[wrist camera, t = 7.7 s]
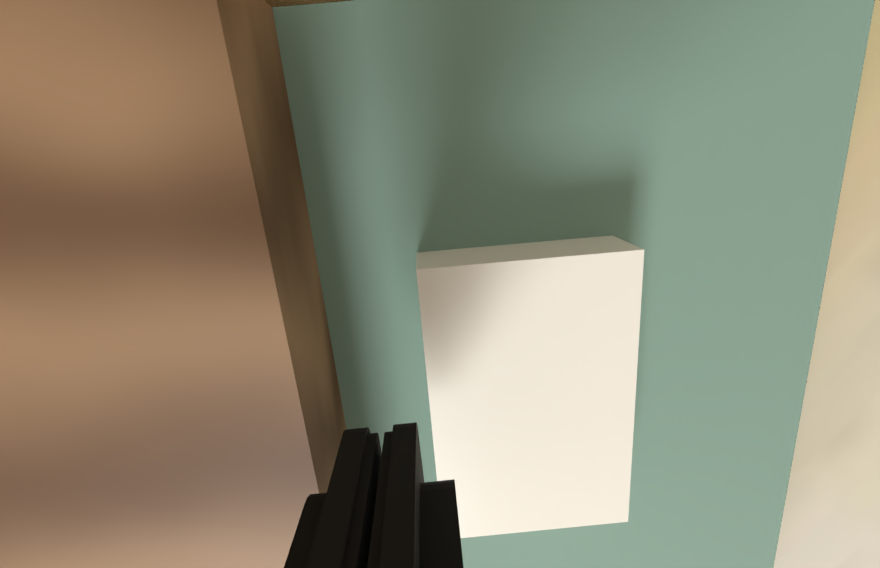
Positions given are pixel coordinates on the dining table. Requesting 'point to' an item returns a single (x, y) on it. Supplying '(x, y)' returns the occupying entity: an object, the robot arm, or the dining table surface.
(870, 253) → the dining table surface
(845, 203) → the dining table surface
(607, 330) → the white rectangular block
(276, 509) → the brown wooden block
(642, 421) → the mat
